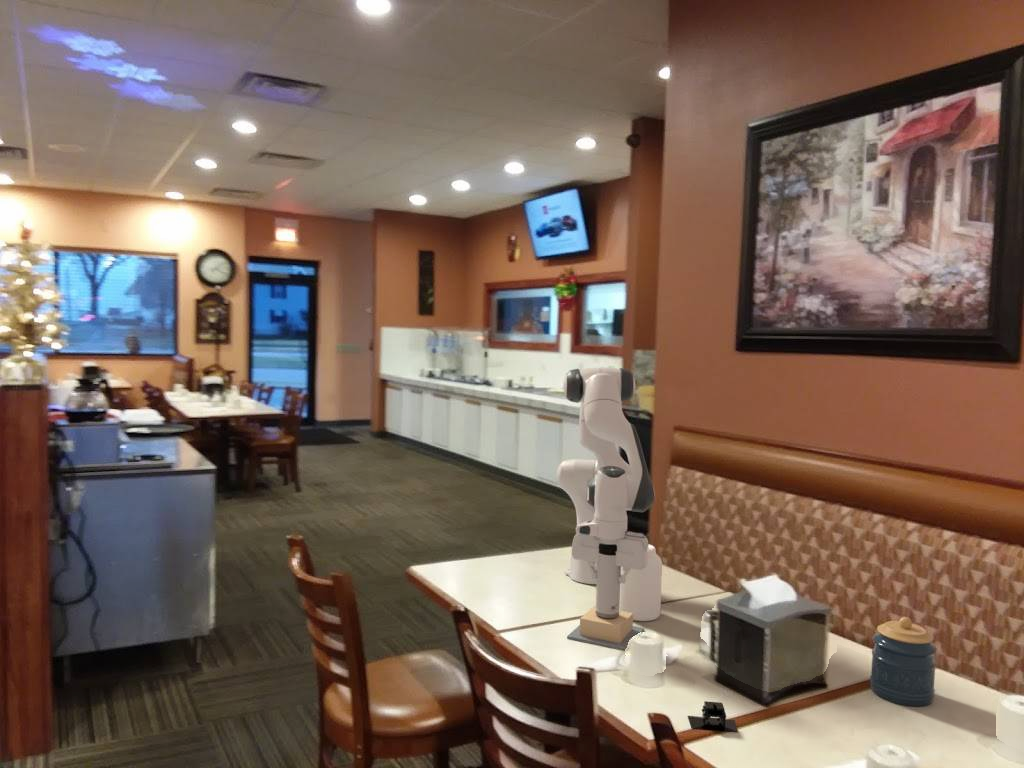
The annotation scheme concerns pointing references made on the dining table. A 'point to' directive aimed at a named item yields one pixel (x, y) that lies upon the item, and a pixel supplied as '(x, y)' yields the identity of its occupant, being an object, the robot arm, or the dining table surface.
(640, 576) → the white jar
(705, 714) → the build plate
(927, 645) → the canister
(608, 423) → the robot arm
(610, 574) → the travel mug
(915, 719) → the dining table surface
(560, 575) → the dining table surface
